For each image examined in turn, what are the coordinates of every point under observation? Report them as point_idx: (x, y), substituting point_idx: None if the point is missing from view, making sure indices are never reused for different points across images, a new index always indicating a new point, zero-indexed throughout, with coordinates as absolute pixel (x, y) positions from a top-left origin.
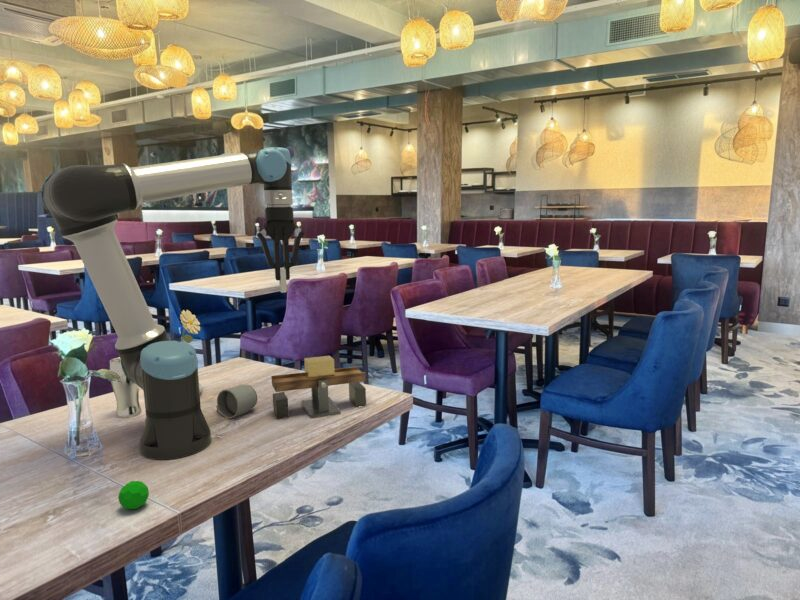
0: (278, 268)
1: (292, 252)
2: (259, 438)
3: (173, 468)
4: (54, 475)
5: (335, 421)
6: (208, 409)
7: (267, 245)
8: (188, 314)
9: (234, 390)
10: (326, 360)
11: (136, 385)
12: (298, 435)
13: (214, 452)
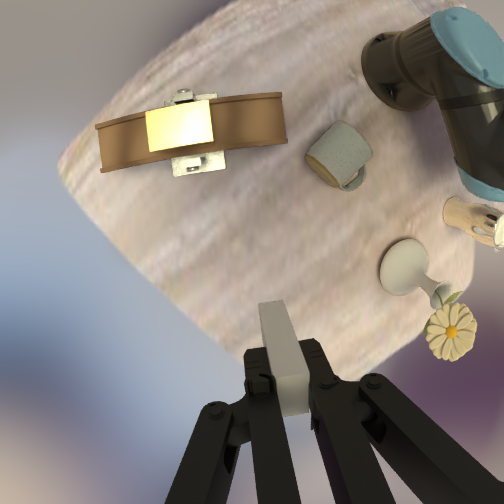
0: (321, 376)
1: (223, 497)
2: (298, 46)
3: (387, 16)
4: None
5: (178, 73)
6: (372, 190)
7: (451, 478)
8: (459, 346)
9: (351, 135)
10: (163, 108)
11: (470, 211)
12: (242, 38)
13: (352, 31)
